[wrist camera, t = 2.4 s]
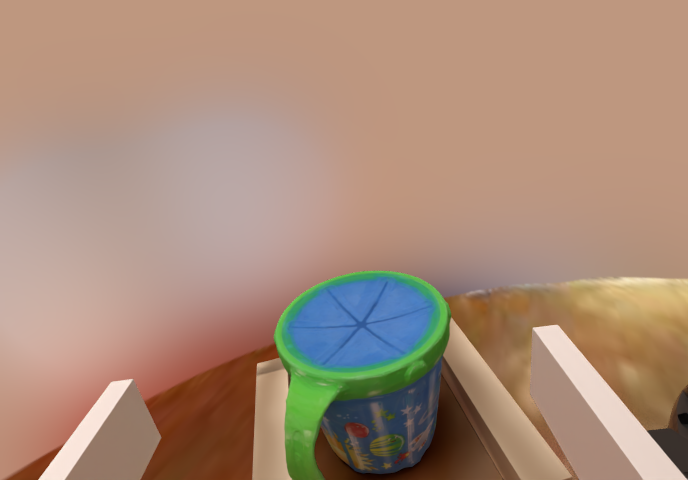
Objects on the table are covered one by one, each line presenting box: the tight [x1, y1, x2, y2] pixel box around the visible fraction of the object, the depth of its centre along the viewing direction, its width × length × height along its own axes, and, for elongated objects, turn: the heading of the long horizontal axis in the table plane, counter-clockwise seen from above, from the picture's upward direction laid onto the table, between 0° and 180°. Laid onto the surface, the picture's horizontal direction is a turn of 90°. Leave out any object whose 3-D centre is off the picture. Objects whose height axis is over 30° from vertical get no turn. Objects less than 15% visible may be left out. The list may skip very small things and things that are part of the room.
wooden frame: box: [252, 318, 572, 480], centre depth 27 cm, size 17×16×2 cm
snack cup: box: [274, 271, 451, 480], centre depth 26 cm, size 16×10×10 cm
